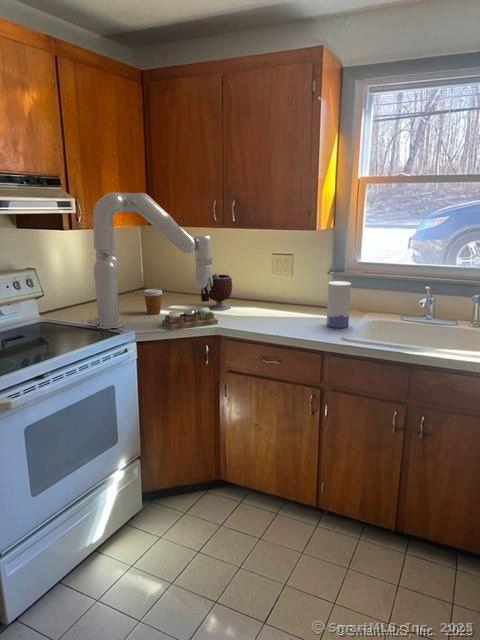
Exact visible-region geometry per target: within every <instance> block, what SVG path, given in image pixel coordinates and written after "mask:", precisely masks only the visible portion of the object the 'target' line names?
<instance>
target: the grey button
mask: <svg viewBox="0 0 480 640" xmlns="http://www.w3.org/2000/svg"><path fill="white" fill-rule="evenodd" d="M195 312H196V310H195V309H185V310H184V313H183V314H184V316H186V317H188V316H195Z"/></svg>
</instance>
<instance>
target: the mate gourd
mask: <svg viewBox="0 0 480 640" xmlns="http://www.w3.org/2000/svg"><path fill="white" fill-rule="evenodd" d="M212 278H213V285H212V287H211V290H209V300H212V301H214V302H216V303H215V304H211V305H208V306H207V308H209V309H210V311H215V312H217V311H218V312H223V311H229V310H230V309H231V308H232V306H231V305H229V304H223V301H226V300H229V298H230V297H231V295H232V291H233V280H232V275H229V274H218V273H214V274H212Z"/></svg>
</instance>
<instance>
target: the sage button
mask: <svg viewBox="0 0 480 640" xmlns="http://www.w3.org/2000/svg"><path fill="white" fill-rule="evenodd" d="M198 312H199V314H201V315H204V314H210V312H211V310H210V309H209V308H208V307H200V308H199V309H198Z"/></svg>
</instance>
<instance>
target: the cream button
mask: <svg viewBox="0 0 480 640" xmlns="http://www.w3.org/2000/svg"><path fill="white" fill-rule="evenodd" d="M180 314H181V312H180V311H176V310H175V311H169V312H168V315H169V318H171V319H172V318H180Z"/></svg>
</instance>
